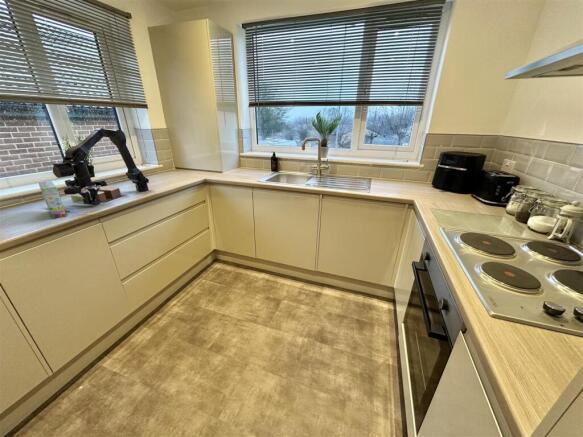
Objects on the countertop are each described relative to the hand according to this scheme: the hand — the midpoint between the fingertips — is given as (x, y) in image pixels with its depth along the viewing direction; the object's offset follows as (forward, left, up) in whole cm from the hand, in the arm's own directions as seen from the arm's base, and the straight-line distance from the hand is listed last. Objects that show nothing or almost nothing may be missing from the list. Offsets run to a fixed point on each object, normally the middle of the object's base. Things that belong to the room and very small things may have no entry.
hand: (92, 202), depth 130 cm
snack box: (+11, +10, -3) cm, 15 cm away
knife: (+5, 0, -1) cm, 5 cm away
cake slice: (+8, -8, -2) cm, 12 cm away
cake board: (+8, -13, -3) cm, 15 cm away
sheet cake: (+8, -17, -2) cm, 19 cm away
